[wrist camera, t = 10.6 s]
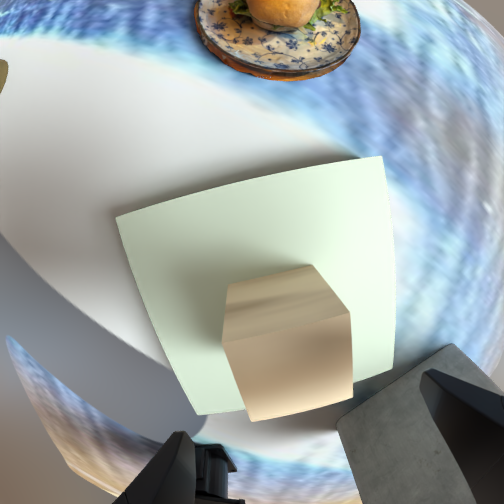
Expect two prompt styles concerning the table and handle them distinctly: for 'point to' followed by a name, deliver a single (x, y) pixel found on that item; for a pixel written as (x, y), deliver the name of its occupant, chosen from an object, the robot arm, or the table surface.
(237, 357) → the birch block
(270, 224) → the plinth
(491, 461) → the robot arm
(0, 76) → the cork
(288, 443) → the table surface
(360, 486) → the hip flask
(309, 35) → the burger
